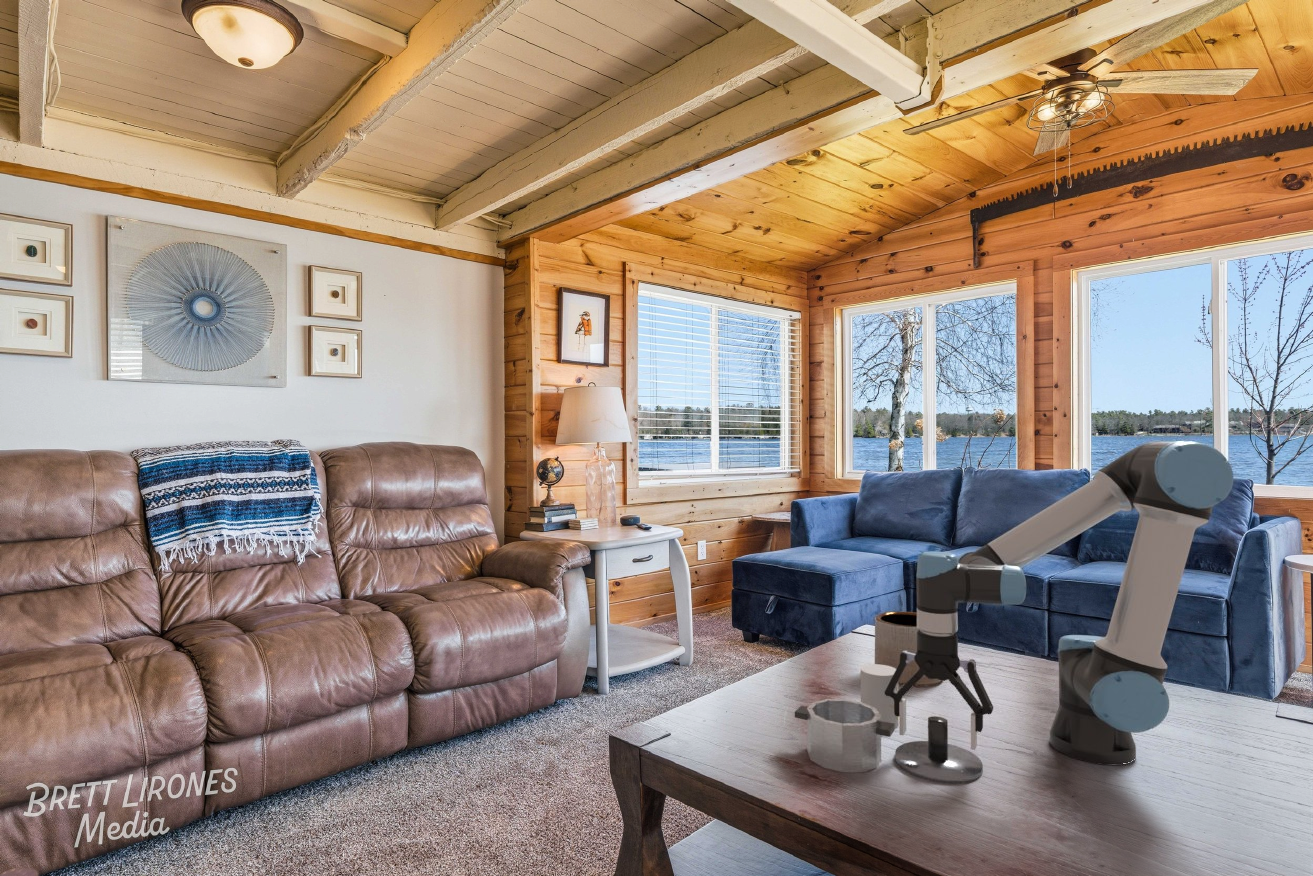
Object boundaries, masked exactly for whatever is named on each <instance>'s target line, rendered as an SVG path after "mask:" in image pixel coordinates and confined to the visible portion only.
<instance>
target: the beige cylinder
mask: <svg viewBox="0 0 1313 876" xmlns="http://www.w3.org/2000/svg"><path fill="white" fill-rule="evenodd" d="M895 671H896V669H895V668H893V667H891V666H887V665H880V664H875V663H872V664H871V663H870V664H864V665H862V666H861V667H860V702H862V703H865V704H867V705H869V706H871V707H874V708H876V709H877V711H878V712H879V713H880V715H881V721H883V722H888V723H893V724H895V729H897V728H898V727H899V716H895V714H894V699H893V698H892V697H890V696H886V695H885V690H886V688H887V686H888V684H889V682H890V681H891V679H892V677H893V675H894V673H895ZM894 690H896V691H899V684H898V683H897V685H896V687H895V689H894Z"/></svg>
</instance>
